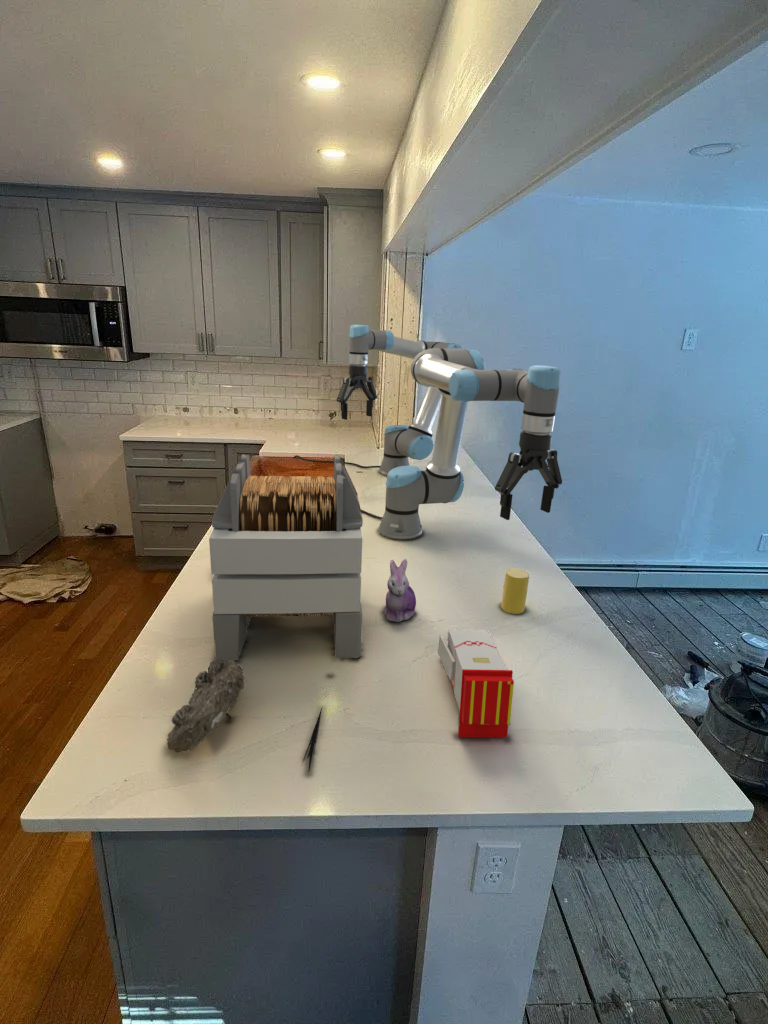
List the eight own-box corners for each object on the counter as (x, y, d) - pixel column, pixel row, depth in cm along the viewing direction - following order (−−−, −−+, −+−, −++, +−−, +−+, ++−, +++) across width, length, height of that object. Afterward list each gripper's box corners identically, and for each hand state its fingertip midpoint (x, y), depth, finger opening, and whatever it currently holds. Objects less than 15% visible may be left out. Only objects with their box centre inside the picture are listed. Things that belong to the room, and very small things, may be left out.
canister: (528, 608, 154) (533, 573, 150) (517, 616, 149) (522, 580, 145) (508, 600, 157) (512, 565, 154) (496, 608, 153) (501, 572, 149)
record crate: (234, 590, 156) (226, 444, 142) (353, 588, 159) (357, 447, 146) (212, 662, 124) (200, 485, 110) (361, 659, 128) (367, 486, 114)
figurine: (392, 627, 141) (395, 572, 136) (374, 608, 149) (376, 556, 144) (425, 619, 145) (429, 566, 140) (405, 601, 154) (408, 550, 149)
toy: (488, 613, 130) (523, 677, 101) (484, 667, 133) (517, 744, 104) (435, 612, 130) (455, 676, 101) (432, 666, 133) (451, 743, 103)
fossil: (192, 660, 117) (244, 628, 112) (224, 691, 120) (276, 661, 115) (142, 746, 98) (202, 712, 93) (182, 779, 101) (242, 748, 96)
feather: (331, 679, 122) (336, 673, 122) (307, 777, 96) (313, 769, 95) (324, 675, 122) (329, 669, 121) (298, 772, 95) (304, 764, 95)
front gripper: (507, 438, 128) (496, 526, 135) (585, 431, 140) (571, 512, 147) (486, 432, 134) (477, 516, 141) (562, 426, 146) (550, 503, 153)
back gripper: (340, 367, 217) (339, 422, 224) (386, 364, 234) (384, 416, 241) (328, 365, 222) (327, 419, 229) (374, 363, 239) (372, 413, 246)
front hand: (525, 514), depth 144 cm, fingers open, 13 cm apart
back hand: (356, 417), depth 235 cm, fingers open, 13 cm apart
